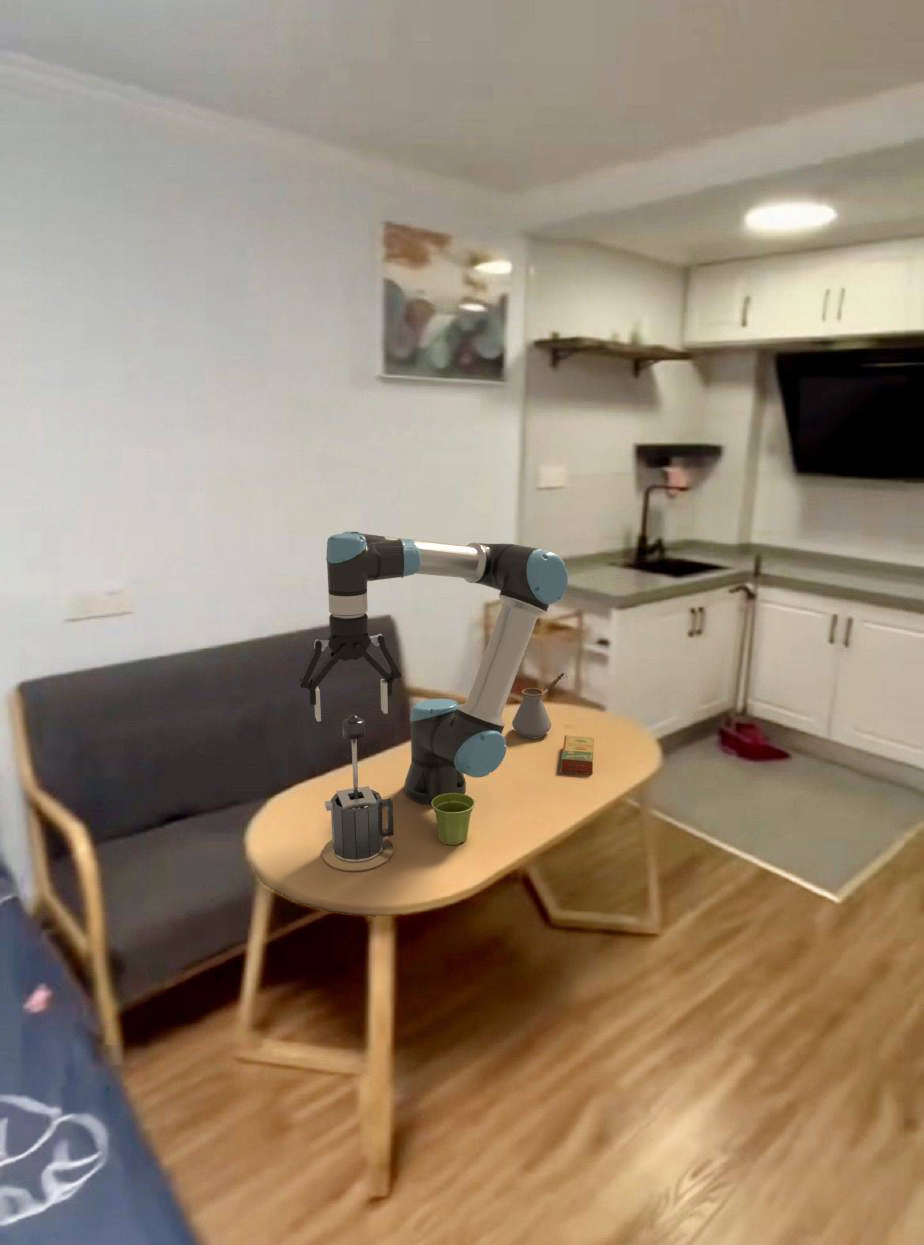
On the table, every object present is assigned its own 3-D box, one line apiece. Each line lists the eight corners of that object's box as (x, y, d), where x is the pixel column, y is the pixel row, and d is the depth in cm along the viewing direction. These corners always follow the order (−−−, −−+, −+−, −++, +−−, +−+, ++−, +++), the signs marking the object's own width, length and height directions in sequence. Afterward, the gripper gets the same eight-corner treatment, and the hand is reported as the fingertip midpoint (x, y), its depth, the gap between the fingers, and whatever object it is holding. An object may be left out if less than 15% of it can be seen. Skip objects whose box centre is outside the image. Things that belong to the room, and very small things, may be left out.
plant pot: (434, 826, 180) (434, 791, 177) (476, 828, 179) (476, 793, 176) (428, 848, 171) (428, 811, 168) (472, 850, 170) (472, 813, 167)
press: (385, 829, 178) (383, 775, 175) (402, 864, 164) (401, 806, 161) (317, 840, 173) (314, 785, 170) (329, 877, 160) (326, 818, 156)
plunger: (369, 800, 171) (366, 707, 165) (376, 815, 164) (373, 719, 159) (337, 805, 168) (332, 711, 163) (343, 820, 162) (339, 723, 157)
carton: (593, 750, 221) (594, 736, 219) (592, 776, 205) (593, 760, 204) (563, 748, 222) (564, 734, 221) (560, 773, 207) (561, 758, 206)
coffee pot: (534, 744, 224) (536, 694, 220) (503, 733, 232) (504, 684, 228) (578, 723, 239) (580, 676, 235) (548, 713, 247) (549, 668, 243)
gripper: (405, 604, 163) (406, 702, 168) (281, 613, 155) (287, 715, 160) (414, 613, 156) (416, 714, 161) (286, 623, 148) (291, 729, 153)
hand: (351, 715), depth 161 cm, fingers open, 13 cm apart
